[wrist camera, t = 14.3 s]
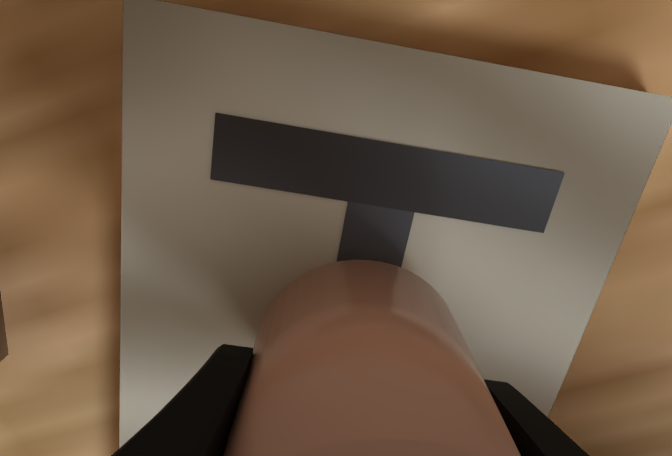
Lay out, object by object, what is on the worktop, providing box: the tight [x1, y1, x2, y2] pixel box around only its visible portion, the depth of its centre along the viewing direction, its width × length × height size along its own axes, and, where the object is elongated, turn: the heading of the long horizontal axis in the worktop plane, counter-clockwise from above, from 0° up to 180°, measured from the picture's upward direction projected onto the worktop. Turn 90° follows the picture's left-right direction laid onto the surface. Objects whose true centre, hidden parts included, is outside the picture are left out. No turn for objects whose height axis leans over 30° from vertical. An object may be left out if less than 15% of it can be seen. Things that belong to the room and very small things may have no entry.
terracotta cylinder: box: [223, 260, 521, 456], centre depth 8 cm, size 5×5×5 cm
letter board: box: [119, 0, 672, 448], centre depth 12 cm, size 16×12×1 cm
